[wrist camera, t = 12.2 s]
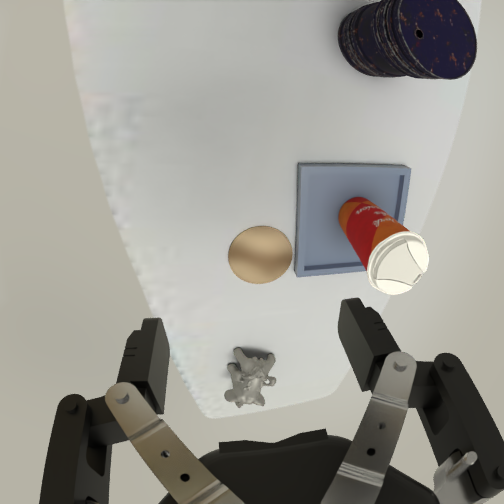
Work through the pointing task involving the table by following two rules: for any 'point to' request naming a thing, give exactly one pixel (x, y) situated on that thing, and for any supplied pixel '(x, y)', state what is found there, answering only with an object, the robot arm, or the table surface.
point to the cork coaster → (260, 255)
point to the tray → (329, 204)
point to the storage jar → (409, 39)
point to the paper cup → (383, 246)
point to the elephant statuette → (249, 379)
